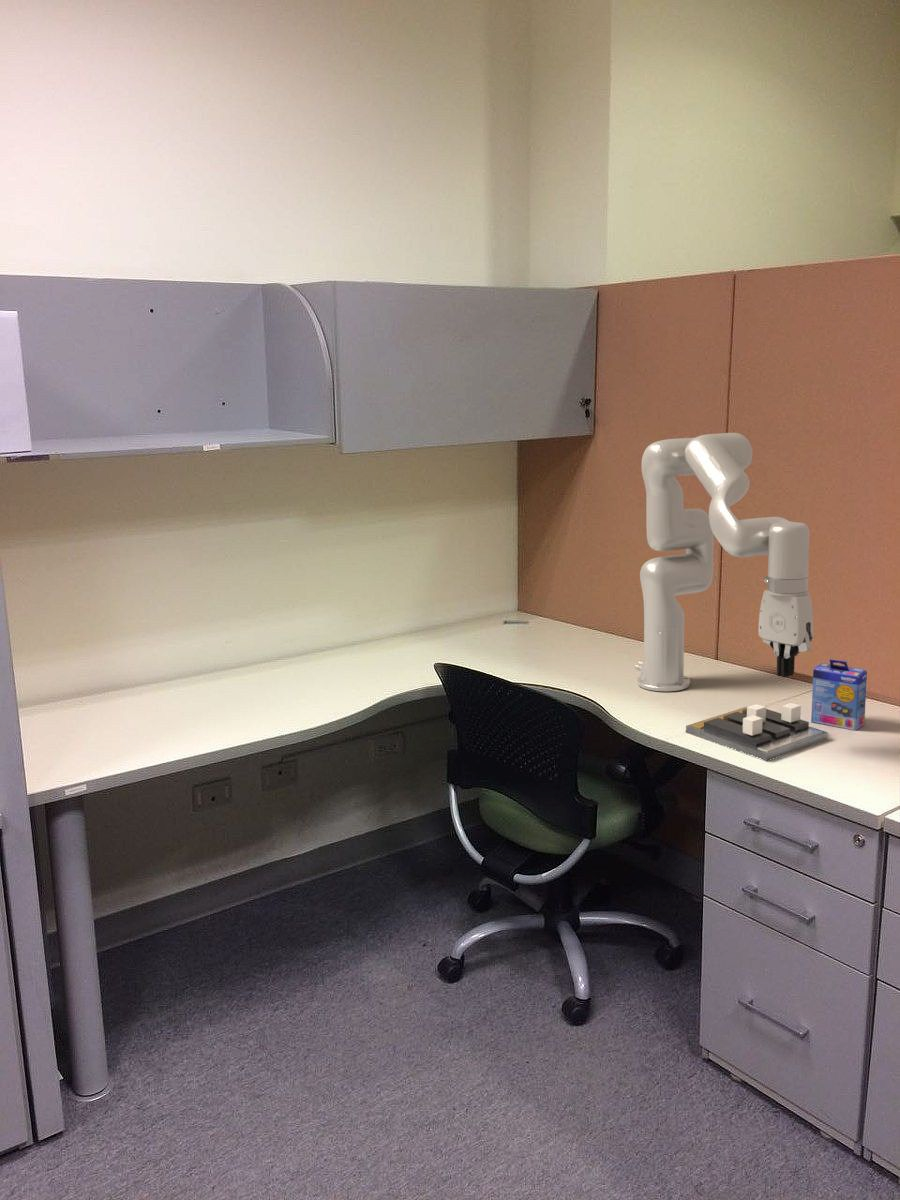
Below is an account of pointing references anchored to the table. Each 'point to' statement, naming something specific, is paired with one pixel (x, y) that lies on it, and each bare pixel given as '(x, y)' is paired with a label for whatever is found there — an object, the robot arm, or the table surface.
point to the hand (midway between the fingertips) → (785, 675)
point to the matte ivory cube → (757, 711)
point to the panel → (752, 749)
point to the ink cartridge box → (839, 695)
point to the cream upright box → (752, 725)
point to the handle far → (791, 712)
